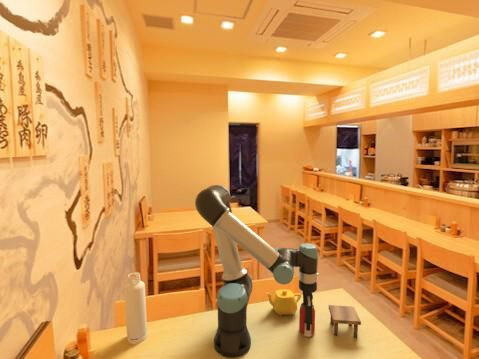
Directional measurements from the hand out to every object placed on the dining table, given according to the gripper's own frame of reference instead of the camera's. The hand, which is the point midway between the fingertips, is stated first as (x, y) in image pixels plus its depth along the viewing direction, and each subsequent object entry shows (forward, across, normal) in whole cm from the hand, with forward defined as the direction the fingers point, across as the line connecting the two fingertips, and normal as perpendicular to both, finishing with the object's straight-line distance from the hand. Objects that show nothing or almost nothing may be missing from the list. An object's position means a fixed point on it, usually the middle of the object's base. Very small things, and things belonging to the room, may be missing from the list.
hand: (306, 330), depth 121 cm
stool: (0, +3, -16) cm, 16 cm away
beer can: (+1, 0, 0) cm, 1 cm away
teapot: (+1, +14, +10) cm, 17 cm away
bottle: (+1, -13, +72) cm, 73 cm away
